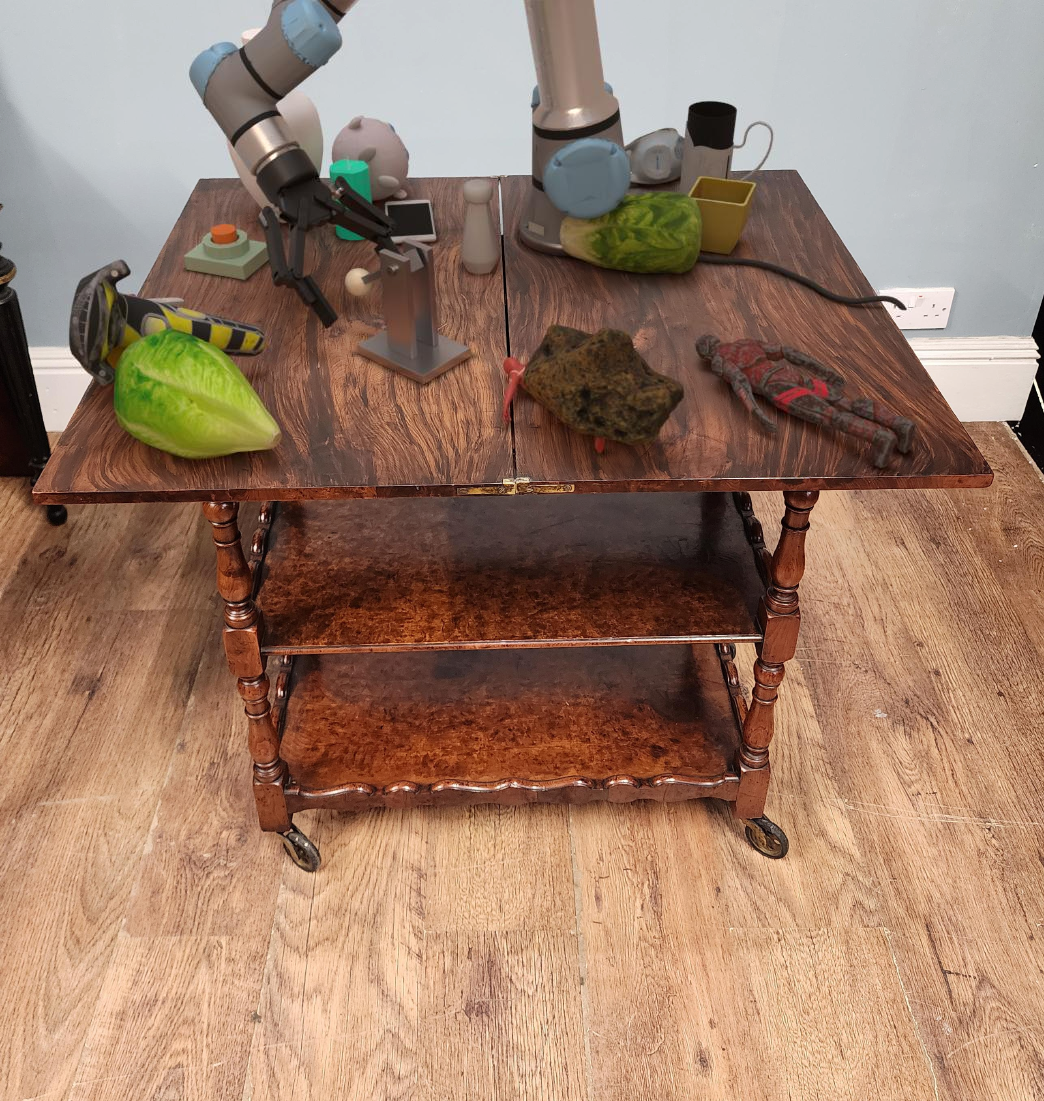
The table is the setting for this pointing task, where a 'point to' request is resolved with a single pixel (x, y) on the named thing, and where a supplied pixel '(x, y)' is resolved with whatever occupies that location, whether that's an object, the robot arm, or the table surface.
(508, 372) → the figurine
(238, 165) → the vase
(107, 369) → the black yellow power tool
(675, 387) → the rock
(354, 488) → the table surface
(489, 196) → the salt shaker
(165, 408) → the lettuce
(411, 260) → the lever
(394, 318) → the bracket
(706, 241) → the flower pot
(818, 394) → the figurine
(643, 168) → the white rounded ceramic body
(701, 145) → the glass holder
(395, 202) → the smartphone
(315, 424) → the table surface
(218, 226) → the button
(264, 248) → the button block
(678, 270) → the lettuce
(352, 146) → the toy
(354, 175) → the candle
